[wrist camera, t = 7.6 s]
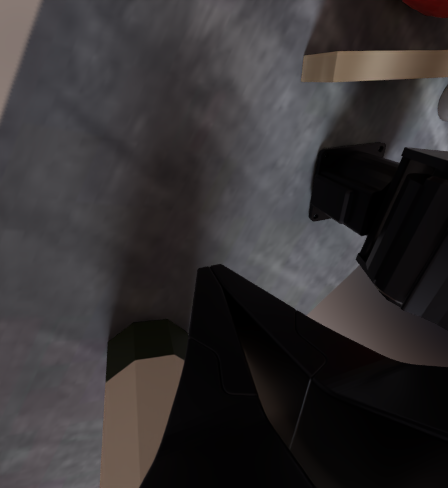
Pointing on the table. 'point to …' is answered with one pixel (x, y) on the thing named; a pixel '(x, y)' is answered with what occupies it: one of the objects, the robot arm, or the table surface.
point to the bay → (378, 68)
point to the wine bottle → (139, 398)
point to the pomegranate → (430, 7)
